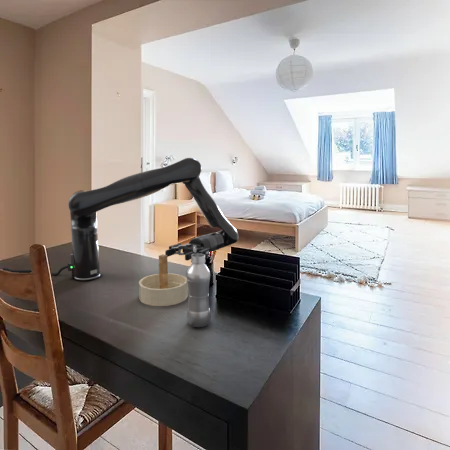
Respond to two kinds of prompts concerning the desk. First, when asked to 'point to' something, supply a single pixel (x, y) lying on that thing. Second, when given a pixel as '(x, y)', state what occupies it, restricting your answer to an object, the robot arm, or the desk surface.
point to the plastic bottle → (198, 292)
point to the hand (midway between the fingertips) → (175, 255)
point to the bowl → (163, 290)
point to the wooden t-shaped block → (163, 271)
